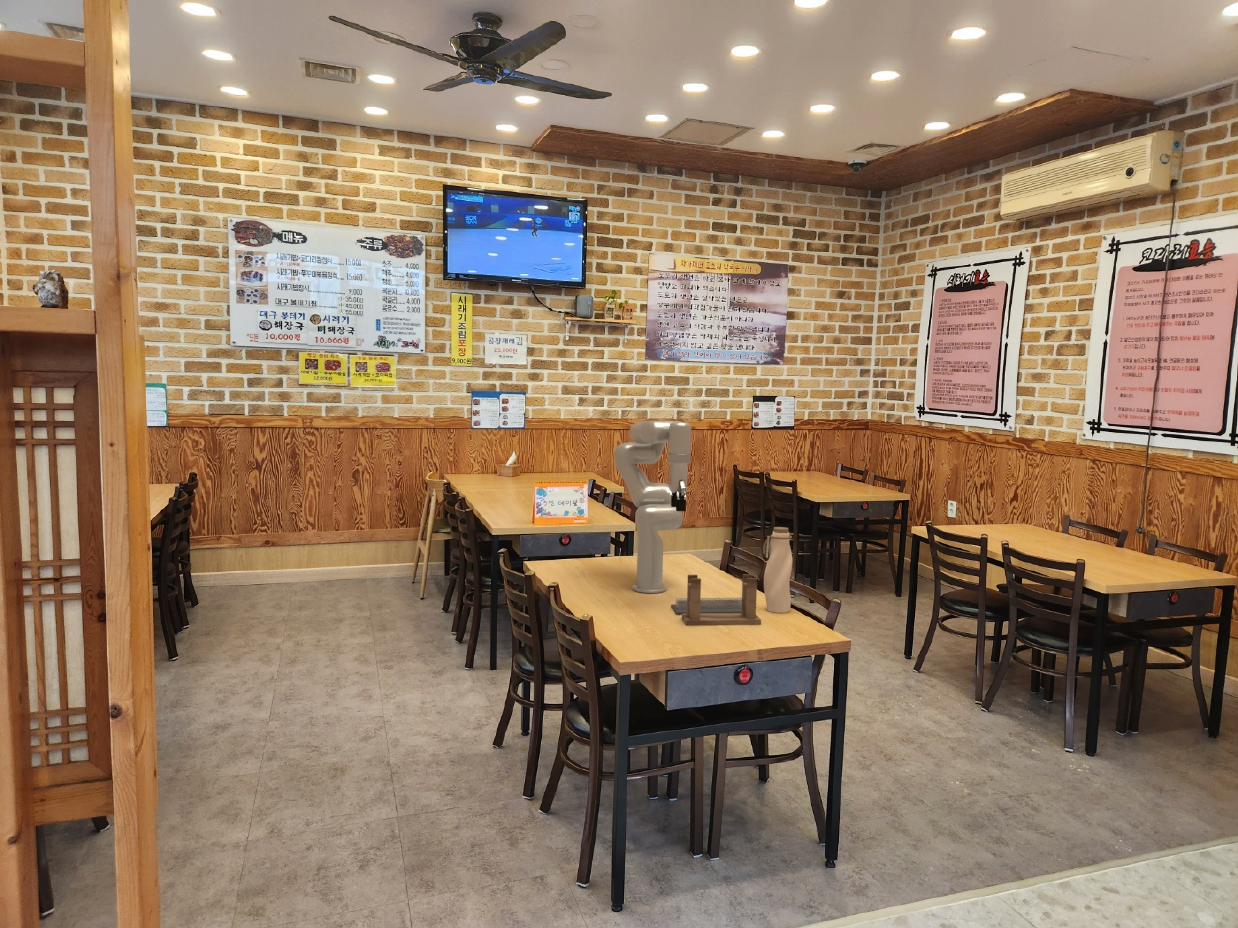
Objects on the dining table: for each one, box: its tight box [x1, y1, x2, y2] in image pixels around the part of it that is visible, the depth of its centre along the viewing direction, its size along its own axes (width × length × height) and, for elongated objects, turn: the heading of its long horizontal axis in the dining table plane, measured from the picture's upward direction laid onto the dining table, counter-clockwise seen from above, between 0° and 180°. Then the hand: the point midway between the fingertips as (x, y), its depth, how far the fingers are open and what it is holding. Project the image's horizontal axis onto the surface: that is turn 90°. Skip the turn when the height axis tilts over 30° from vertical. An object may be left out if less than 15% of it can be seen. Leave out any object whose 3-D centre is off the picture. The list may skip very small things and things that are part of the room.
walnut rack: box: [681, 573, 762, 626], centre depth 252 cm, size 8×24×14 cm, turn 96°
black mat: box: [670, 603, 742, 616], centre depth 266 cm, size 10×26×1 cm, turn 96°
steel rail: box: [675, 597, 742, 609], centre depth 266 cm, size 3×24×3 cm, turn 96°
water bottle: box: [762, 526, 793, 614], centre depth 266 cm, size 10×9×28 cm
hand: (678, 508), depth 269 cm, fingers open, 9 cm apart
